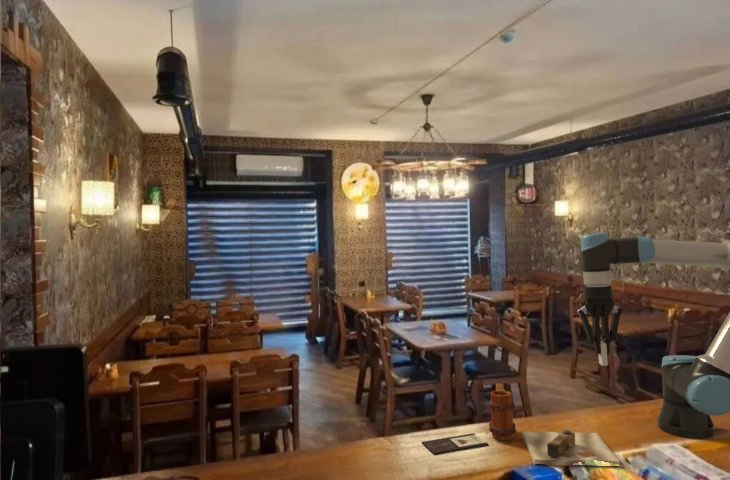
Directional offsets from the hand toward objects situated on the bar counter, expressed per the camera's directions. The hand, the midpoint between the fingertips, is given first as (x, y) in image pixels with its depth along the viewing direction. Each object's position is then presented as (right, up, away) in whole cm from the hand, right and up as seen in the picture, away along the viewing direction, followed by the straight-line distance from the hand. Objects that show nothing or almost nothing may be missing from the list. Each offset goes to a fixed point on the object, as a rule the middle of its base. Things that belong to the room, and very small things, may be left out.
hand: (603, 364), depth 152 cm
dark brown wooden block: (-15, -22, -7) cm, 28 cm away
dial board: (-12, -24, -4) cm, 27 cm away
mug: (-28, -25, +9) cm, 38 cm away
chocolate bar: (-44, -26, +3) cm, 51 cm away
